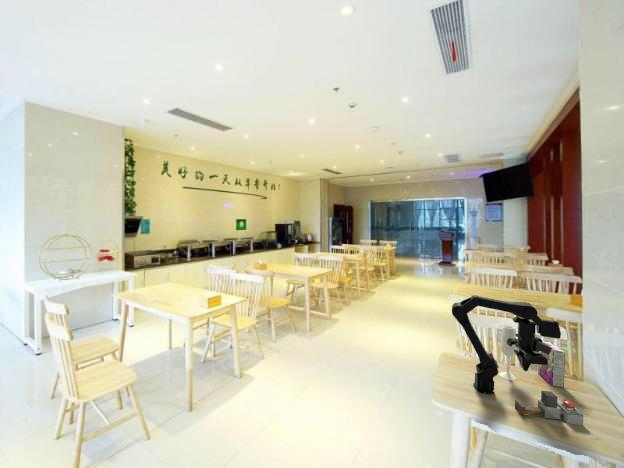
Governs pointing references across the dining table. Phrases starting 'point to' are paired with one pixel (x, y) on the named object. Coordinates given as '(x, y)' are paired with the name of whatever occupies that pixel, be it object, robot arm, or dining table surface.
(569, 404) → the red plunger button
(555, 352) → the candy bar box
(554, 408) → the carriage
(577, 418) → the button housing
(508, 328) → the champagne flute
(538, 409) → the rail
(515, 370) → the dining table surface
